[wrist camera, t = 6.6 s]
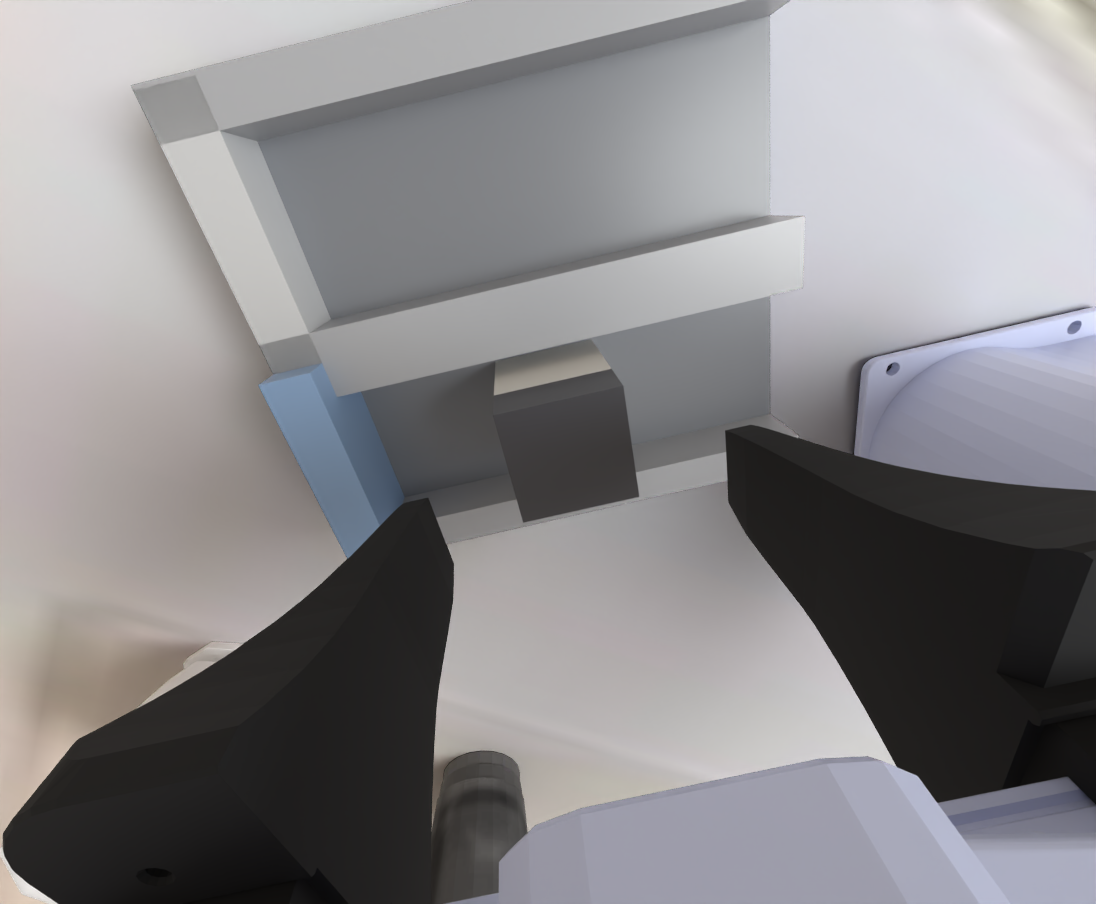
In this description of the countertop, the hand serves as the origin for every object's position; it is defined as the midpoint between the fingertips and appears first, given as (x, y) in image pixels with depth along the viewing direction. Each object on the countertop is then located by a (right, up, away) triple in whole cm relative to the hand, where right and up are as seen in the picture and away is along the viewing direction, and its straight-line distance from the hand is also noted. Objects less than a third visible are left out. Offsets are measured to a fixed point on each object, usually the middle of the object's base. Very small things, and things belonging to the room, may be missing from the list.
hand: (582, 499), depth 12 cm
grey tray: (-1, +6, +5) cm, 8 cm away
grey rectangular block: (-1, +3, +6) cm, 7 cm away
